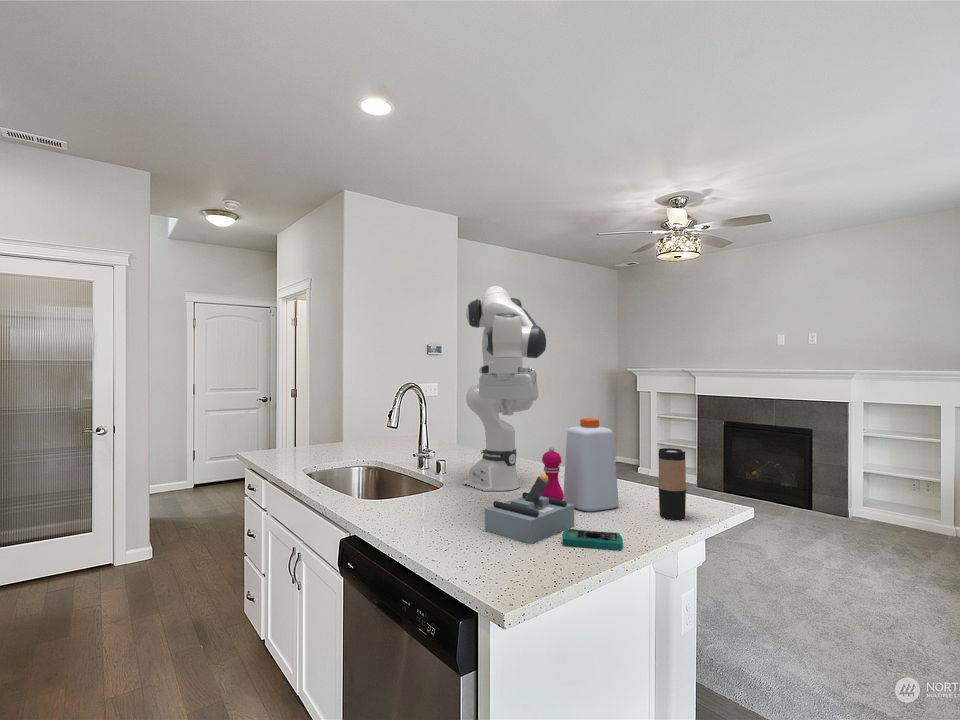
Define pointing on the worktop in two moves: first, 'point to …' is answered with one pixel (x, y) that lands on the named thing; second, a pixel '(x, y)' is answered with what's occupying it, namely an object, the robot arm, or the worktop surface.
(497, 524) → the box
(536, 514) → the dark parallel rails
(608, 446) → the plastic bottle
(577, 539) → the digital multimeter
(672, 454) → the travel mug
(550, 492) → the pepper mill
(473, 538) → the worktop surface
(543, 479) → the breaker lever
